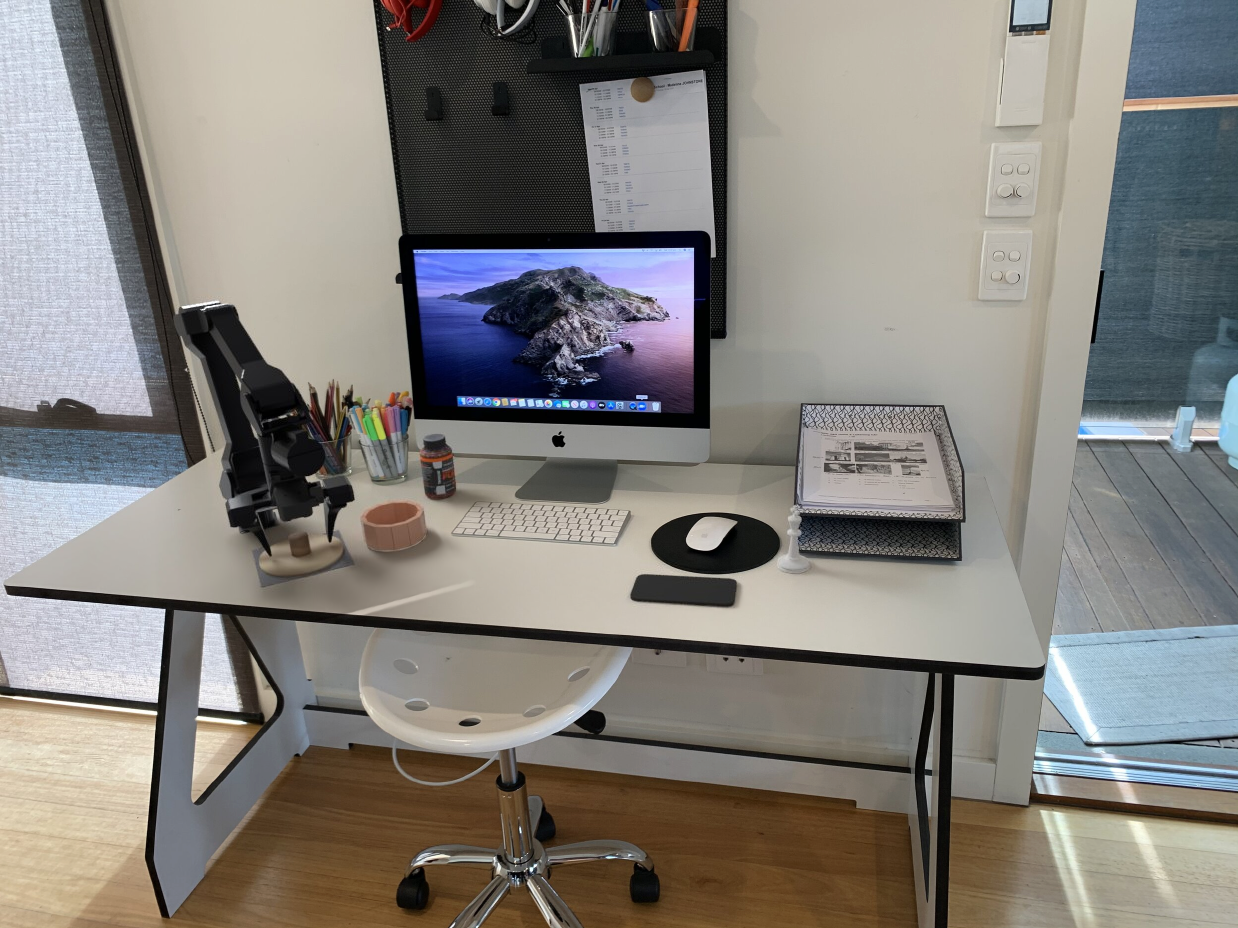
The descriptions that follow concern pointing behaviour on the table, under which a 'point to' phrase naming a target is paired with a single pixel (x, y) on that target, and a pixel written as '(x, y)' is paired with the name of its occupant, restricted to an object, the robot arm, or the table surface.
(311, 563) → the lid
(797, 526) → the chess piece
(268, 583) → the mat
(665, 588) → the phone
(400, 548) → the bowl
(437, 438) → the supplement bottle
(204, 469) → the table surface
